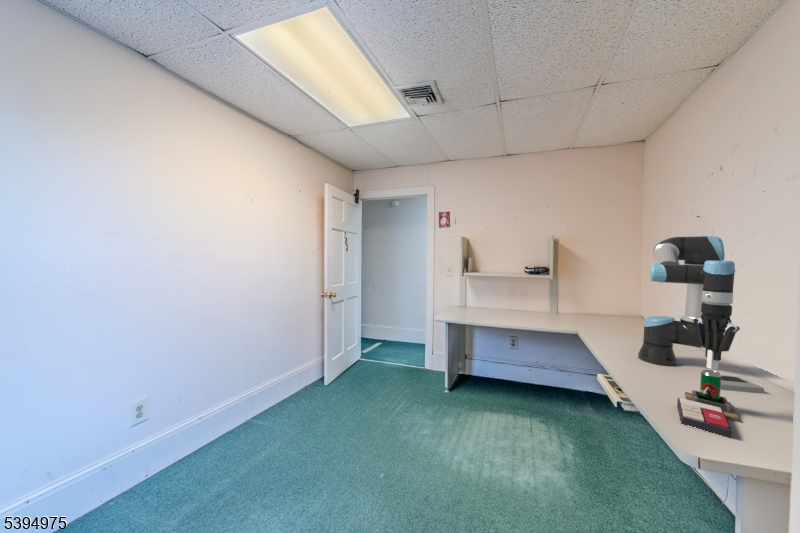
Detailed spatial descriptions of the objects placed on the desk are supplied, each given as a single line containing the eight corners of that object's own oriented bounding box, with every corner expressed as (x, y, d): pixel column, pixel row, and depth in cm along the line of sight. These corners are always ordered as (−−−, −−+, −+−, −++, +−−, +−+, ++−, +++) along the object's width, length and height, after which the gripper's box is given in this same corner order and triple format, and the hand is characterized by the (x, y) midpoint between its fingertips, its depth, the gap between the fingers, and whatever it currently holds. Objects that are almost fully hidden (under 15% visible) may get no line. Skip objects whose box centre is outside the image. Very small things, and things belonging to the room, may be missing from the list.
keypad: (764, 385, 118) (719, 381, 121) (763, 394, 118) (719, 390, 121) (742, 376, 127) (701, 372, 130) (741, 384, 127) (700, 380, 130)
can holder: (684, 394, 116) (685, 385, 116) (729, 404, 108) (730, 395, 108) (688, 409, 105) (689, 399, 104) (739, 422, 97) (739, 412, 97)
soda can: (723, 408, 103) (725, 375, 103) (706, 406, 105) (708, 373, 104) (711, 401, 108) (713, 369, 108) (695, 399, 109) (697, 368, 109)
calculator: (681, 414, 95) (677, 395, 106) (680, 427, 95) (677, 407, 106) (732, 428, 88) (722, 406, 99) (731, 441, 88) (721, 418, 99)
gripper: (687, 300, 111) (683, 361, 112) (728, 306, 98) (723, 375, 99) (705, 300, 111) (701, 361, 112) (749, 306, 98) (744, 375, 99)
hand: (712, 368), depth 106 cm, fingers closed
